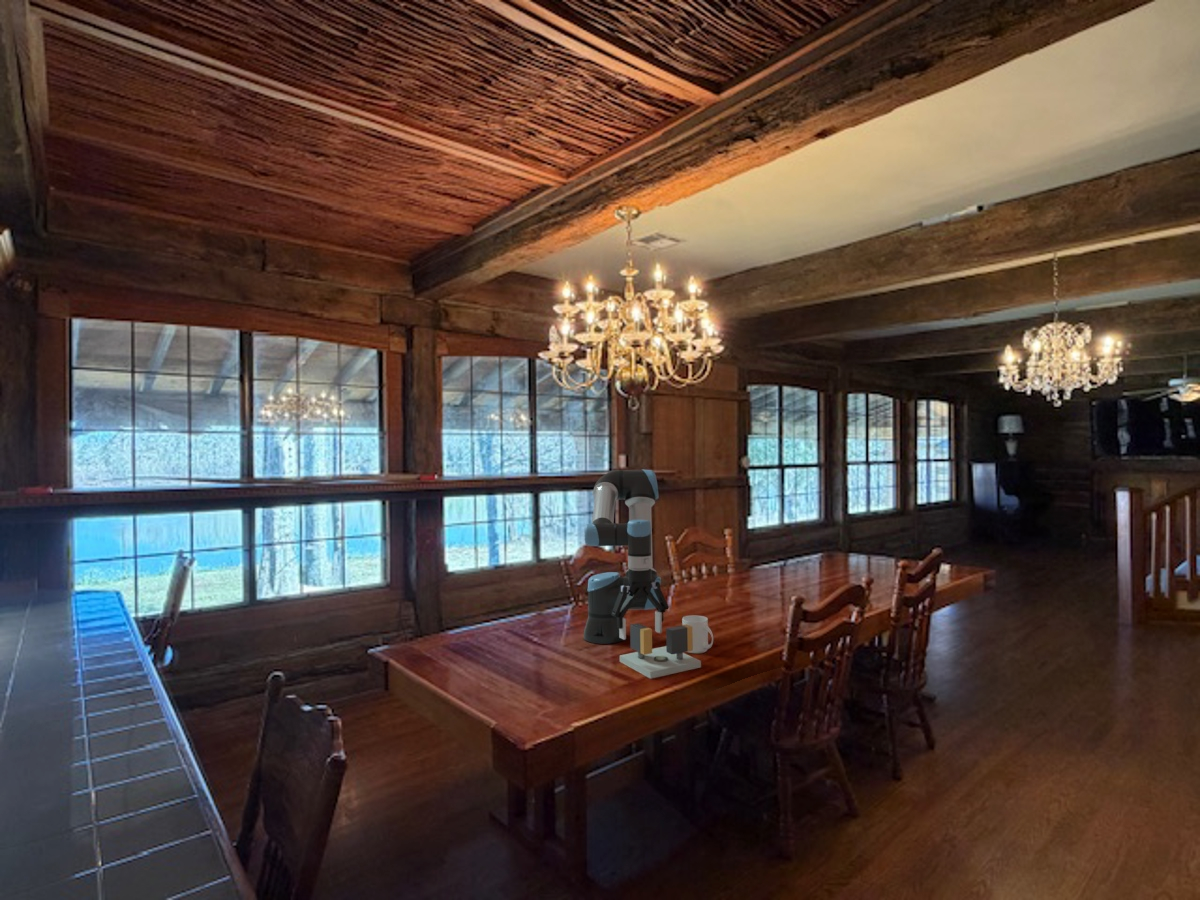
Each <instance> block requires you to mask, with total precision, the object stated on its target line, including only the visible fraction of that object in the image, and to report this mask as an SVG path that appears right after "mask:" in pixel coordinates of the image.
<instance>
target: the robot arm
mask: <svg viewBox="0 0 1200 900" xmlns="http://www.w3.org/2000/svg"><path fill="white" fill-rule="evenodd" d="M658 487H659V486H658V481H657V476H656V473H655V471H654V470H652V469H645V468H644V469H643V468H642V469H621V470H620V469H615V470H611V471H609V472H606V473H605V474H604V475H602V476H601V477H600V478H599V479H598V480H597V481H596V483H595V484H594V487H593V491H592V495H593V500H594V502H593V503H594V504H593V511H592V520H591V522H590V523H586V524H585V525H584V533H583V535H584V536H583V537H584V544H585V545H586V546H588V547H608V546H609V547H619V546H620V547H622V546H623V547H627V567H628V568H627V570H626V571H625V576H621V575H620V573H619V572H613V571H607V572H602V573H597V574H594V575H591V576H590V577H589V578H588V580H587V589H586V590H587V615H588V617H587V620H586V623H585V626H584V631H583V639H584V641H586V642H588V643H592V644H599V645H601V644H602V645H604V644H606V645H607V644H615V643H620V642H621V641H625V640H626V639H627V632H626V631H627V628H626V627H627V622H626V621H627V619H626V618H625V615H626V614H627V613H628V611H629V610H644V611H647V610H655V609H656V610H655V611H654V630H655V632H656V633H658V634H662V633H663V624H662V622H664V614H665V613H666V610H669V605H668V602H667V600H666V598H665V596H664V593H663V591H662V589H661V583H662V577H661V576H658V572H657V570H656V569H655V568H654V566H653V562H654V561H653V560H654V559H653V532H652V531H653V530H652V528H653V527H652V526H653V525H652V521H653V520H652V507H653V506H654V505H655V504H656V500H658V499H659V497H660V496H659V488H658ZM617 500H620V501H621V500H624V504H625V505H626V506H627V507H628V522H627V523H626V522H625V523H622V522H621V523H619V522H618V523H616V522H615V523H614V519H615V506H616V505H615V504H616V501H617Z"/></svg>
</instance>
